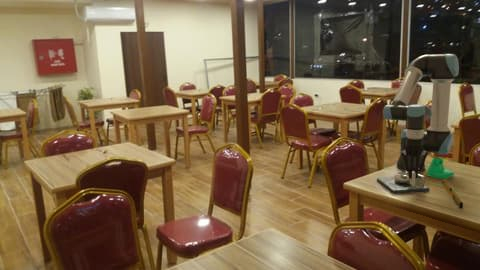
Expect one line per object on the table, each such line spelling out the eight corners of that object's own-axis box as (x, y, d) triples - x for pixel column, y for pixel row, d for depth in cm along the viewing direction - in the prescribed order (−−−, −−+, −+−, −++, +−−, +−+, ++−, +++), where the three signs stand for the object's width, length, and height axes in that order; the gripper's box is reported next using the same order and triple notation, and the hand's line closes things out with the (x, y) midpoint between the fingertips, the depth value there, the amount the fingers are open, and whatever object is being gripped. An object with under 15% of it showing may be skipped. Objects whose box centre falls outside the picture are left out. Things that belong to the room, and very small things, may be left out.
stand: (411, 178, 210) (411, 169, 209) (431, 191, 190) (432, 181, 189) (376, 181, 209) (376, 172, 208) (393, 194, 189) (393, 184, 188)
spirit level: (441, 183, 202) (442, 177, 201) (444, 183, 201) (444, 178, 201) (459, 209, 170) (459, 202, 169) (462, 209, 170) (463, 202, 169)
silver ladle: (391, 179, 202) (391, 168, 201) (403, 177, 205) (403, 166, 204) (416, 189, 187) (417, 177, 186) (429, 187, 190) (429, 175, 188)
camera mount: (438, 180, 205) (439, 162, 203) (426, 177, 212) (427, 158, 210) (454, 176, 210) (455, 158, 208) (442, 173, 217) (443, 155, 215)
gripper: (402, 139, 182) (400, 187, 187) (432, 139, 181) (429, 187, 186) (398, 136, 190) (396, 182, 194) (426, 135, 188) (423, 182, 193)
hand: (412, 184), depth 190 cm, fingers closed
